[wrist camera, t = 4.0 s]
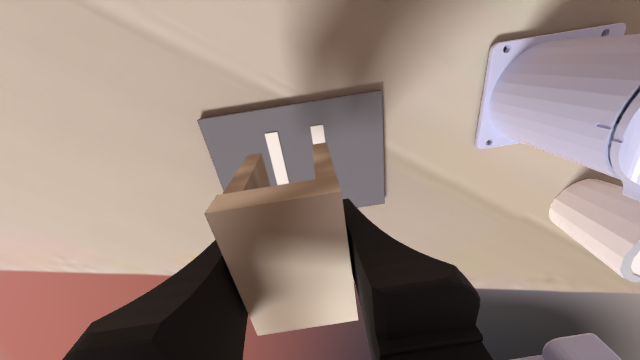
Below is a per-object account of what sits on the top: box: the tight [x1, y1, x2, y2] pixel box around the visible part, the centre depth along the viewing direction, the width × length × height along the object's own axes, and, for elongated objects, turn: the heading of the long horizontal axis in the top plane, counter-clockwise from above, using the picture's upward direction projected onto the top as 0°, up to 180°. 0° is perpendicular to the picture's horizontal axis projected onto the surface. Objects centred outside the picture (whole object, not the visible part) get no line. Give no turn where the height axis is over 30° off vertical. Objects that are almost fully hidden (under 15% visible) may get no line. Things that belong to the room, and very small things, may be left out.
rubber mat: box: [197, 90, 385, 208], centre depth 20 cm, size 14×10×1 cm
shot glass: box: [549, 179, 640, 282], centre depth 21 cm, size 7×7×7 cm
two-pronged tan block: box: [204, 142, 358, 335], centre depth 12 cm, size 4×6×6 cm
